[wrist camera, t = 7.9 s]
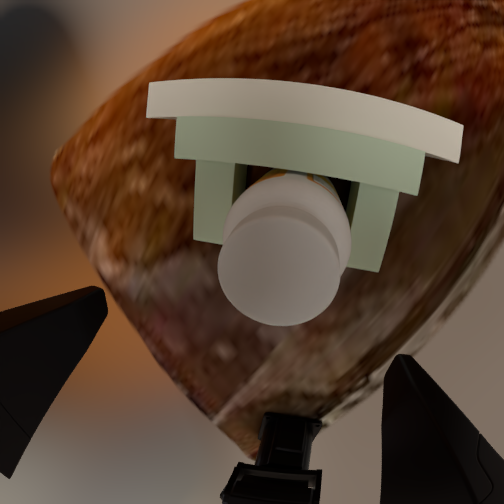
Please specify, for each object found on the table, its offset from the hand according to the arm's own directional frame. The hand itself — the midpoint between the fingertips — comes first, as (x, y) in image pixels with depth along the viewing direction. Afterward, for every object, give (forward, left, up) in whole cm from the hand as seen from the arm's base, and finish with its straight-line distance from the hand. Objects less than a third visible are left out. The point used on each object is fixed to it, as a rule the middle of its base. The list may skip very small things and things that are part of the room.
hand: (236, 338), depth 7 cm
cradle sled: (+2, 0, -12) cm, 12 cm away
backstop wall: (+7, 0, -12) cm, 14 cm away
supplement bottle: (+1, -1, -12) cm, 12 cm away
